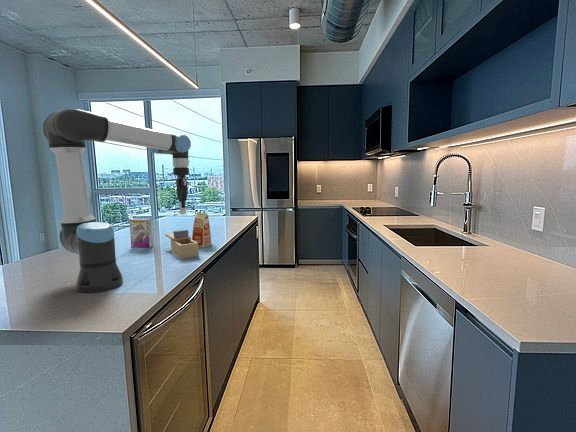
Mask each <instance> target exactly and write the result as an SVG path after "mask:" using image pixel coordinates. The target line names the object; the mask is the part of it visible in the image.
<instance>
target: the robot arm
mask: <svg viewBox="0 0 576 432" xmlns="http://www.w3.org/2000/svg"><path fill="white" fill-rule="evenodd" d="M41 130H42V131H41V132H42V134H43V136H44V138H46V141H48V149H49V150H50V151H51V152H52V153H54V155H55V162H56V167H57V174H58V175H57V176H58V182H59V187H60V188H59V189H60V194H61V195H60V196H61V202H62V206H63V214H64V217H63V218H62V219H61V220H60V227H61V230H60V231H59V235H58V239H59V243H60V245H61V246H62V248H64V249H65V250H67V252H70V253H72V254H76V255H78V259H79V268H80V269H79V272H78V275H77V279H76V282H75V288H76V291H77V292H80V293H99V292H104V291H108V290H113V289H115V288H117V287H119V286H122V284H123V283H124V281H123V280H124V279H123V275H122V273H121V270H120V268H119V266H118V264H117V259H116V257H117V255H116V245H115V244H116V243H115V242H116V241H115V232H114V227H113V225H112V224H111V223H107V222H104V221H103V222H101V221H100V222H99V221H97V219H96V217H95V216H94V215H92V214H91V207H90V206H91V205H90V199H89V193H88V185H87V179H86V173H85V171H86V170H85V164H84V158H83V157H84V156H83V153H84V152H85V150H86V149H87V146H86V142H100V143H105V142H107V141H109V142H116V143H119V144H120V143H121V144H128V145H131V146H132V145H133V146H139V147H145V148H147V149H148V151H149V152H150V153H151V154H155V155H159V154H160V155H171V156H172V167H173V169H172V174H173V175H174V176H177V178H176V181H175V186H176V194H177V200H178V202H179V203H178V204H179V209H178V210H179V215H181V216H182V215H186V214H187V210H186V209H187V208H186V207H187V204H186V203H187V202H186V201H188V181H187V178H186V176H189V175H190V168H189V166H190V160H189V159H190V158H189V150H190V149H191V147H192V145H191V144H192V143H191V140H190V138H189V137H188V135H186V134H181V133H180V134H174V133H169V132H165V131H162V130H161V131H160V130H155V129H152V128H151V129H150V128H148V127H147V128H146V127H144V126H143V127H142V126H138V125H134V124H129V123H125V122H121V121H117V120H111V119H109V118H108V117H107V116H106V115H103V114H98V113H94V112H92V111H87V110H83V109H78V108H66V109H63V110H60V111H55V112H52V113H51V114H48V115H47V116H46V117H45V118H44V120H43V122H42V124H41Z"/></svg>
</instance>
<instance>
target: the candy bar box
mask: <svg viewBox="0 0 576 432" xmlns="http://www.w3.org/2000/svg"><path fill="white" fill-rule="evenodd" d="M129 233H130V234H129V235H130V246H131V249H132V248H133V249H134V248H135V249H136V248H137V249H138V248H139V249H150V248H152V247H154V235H153V234H154V233H153V220H152V218H131V219H129Z"/></svg>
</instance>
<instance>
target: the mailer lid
mask: <svg viewBox="0 0 576 432" xmlns="http://www.w3.org/2000/svg"><path fill="white" fill-rule="evenodd" d="M164 235H165V236H166V237H167V238H169V239H170V240H171V239H172V240H173V241H176V240H184V239H192V236H191V235H189V229H180V230H179V229H178V230H173V231H172V232H170V233H165V234H164Z"/></svg>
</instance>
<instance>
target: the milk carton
mask: <svg viewBox="0 0 576 432" xmlns="http://www.w3.org/2000/svg"><path fill="white" fill-rule="evenodd" d="M192 226H193V227H192V236H191V239H192V240H193V241H195V242H197V243H198V248H205V247H209V246H211V245H212V234H211V226H210V220H209V214H208V213H204V212H201V211H196V214H195V216H194V220H193V225H192Z"/></svg>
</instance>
